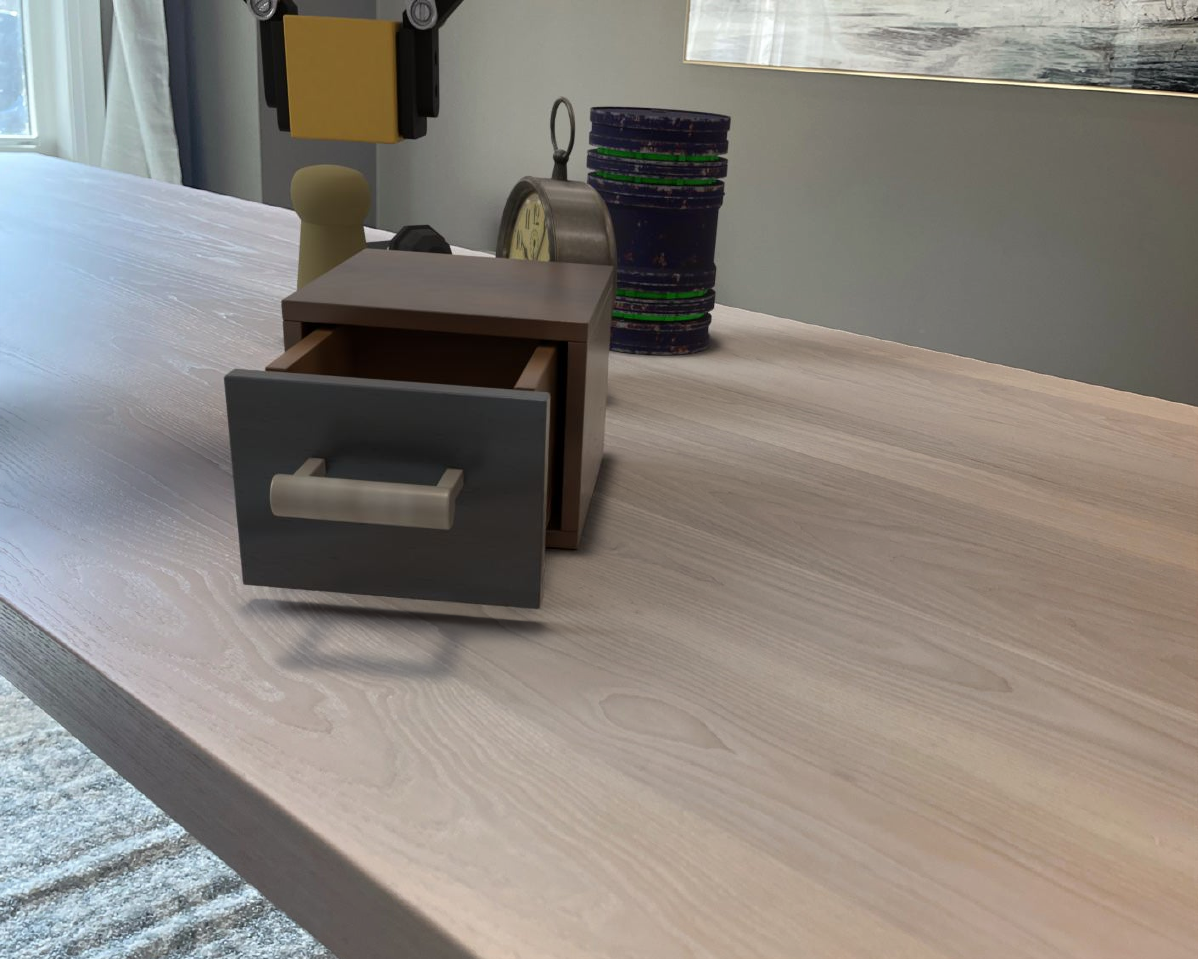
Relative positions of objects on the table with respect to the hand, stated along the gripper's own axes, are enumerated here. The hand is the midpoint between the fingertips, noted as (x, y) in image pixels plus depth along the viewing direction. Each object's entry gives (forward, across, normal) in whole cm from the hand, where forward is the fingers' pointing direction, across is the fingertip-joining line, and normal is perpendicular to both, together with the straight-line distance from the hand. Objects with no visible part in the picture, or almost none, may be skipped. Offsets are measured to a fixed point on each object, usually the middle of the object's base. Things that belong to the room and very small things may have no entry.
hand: (354, 128), depth 55 cm
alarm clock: (+16, +7, +22) cm, 28 cm away
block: (0, 0, 0) cm, 0 cm away
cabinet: (+16, +5, 0) cm, 16 cm away
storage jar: (+16, +12, +38) cm, 43 cm away
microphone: (+16, -10, +54) cm, 57 cm away
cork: (+16, -9, +30) cm, 35 cm away
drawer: (+15, +4, -12) cm, 19 cm away
